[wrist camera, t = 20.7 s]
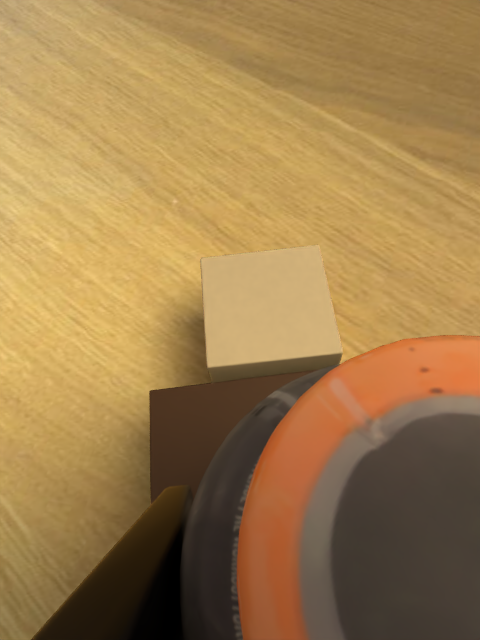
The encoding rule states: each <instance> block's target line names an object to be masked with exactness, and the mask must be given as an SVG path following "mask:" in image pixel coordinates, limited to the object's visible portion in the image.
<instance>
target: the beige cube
mask: <svg viewBox="0 0 480 640" xmlns="http://www.w3.org/2000/svg"><path fill="white" fill-rule="evenodd" d="M200 263H201V279H202V296H203V312H204V329H205V345H206V362H207V369H208V372H209V375H210V378H211V381H212V383H215V382H223V381H231V380H239V379H247V378H255V377H263V376H271V375H279V374H287V373H295V372H303V371H311V370H319V369H323V368H326V367H329V366H332V365H339V363H340V360H341V357H342V354H343V349H342V344H341V340H340V336H339V331H338V327H337V322H336V318H335V313H334V309H333V304H332V300H331V295H330V291H329V286H328V282H327V277H326V273H325V269H324V264H323V260H322V255H321V251H320V246H319V245H312V246H303V247H294V248H285V249H276V250H267V251H258V252H249V253H240V254H231V255H222V256H213V257H204V258H201V259H200Z"/></svg>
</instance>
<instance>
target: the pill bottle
mask: <svg viewBox="0 0 480 640" xmlns="http://www.w3.org/2000/svg"><path fill="white" fill-rule="evenodd" d="M180 609H181V624H182V632H183V639H184V640H480V336H464V335H441V336H431V337H422V338H412V339H403V340H400V341H396V342H394V343H391V344H387V345H383V346H380V347H378V348H375V349H373V350H371V351H368V352H366V353H364V354H361V355H359V356H356V357H354V358H352V359H349V360H347V361H345V362H344V363H342V364H339V365H332V366H329V367H326V368H323V369H320V370H317V371H314V372H312V373H309V374H307V375H304V376H302V377H300V378H298V379H295V380H293V381H291V382H289V383H287V384H285V385H284V386H282V387H280V388H279V389H277V390H276V391H274V392H273V393H272V394H270V395H269V396H268V397H266V398H265V399H263V400H262V401H260V402H259V403H258V404H257V405H256V406H255V407H254V408H253V409H252V410H251V411H250V412H249V413H247V414H246V415H245V416H244V417H243V418H242V419H241V420H240V421H239V422H238V423H237V424H236V426H235V427H234V428H233V429H232V430H231V431H230V433H229V434H228V435H227V436H226V438H225V440H224V441H223V443H222V444H221V445H220V447H219V448H218V450H217V451H216V453H215V455H214V457H213V459H212V460H211V462H210V464H209V466H208V468H207V469H206V471H205V473H204V475H203V477H202V479H201V481H200V483H199V486H198V489H197V492H196V495H195V497H194V500H193V503H192V506H191V510H190V513H189V517H188V520H187V524H186V530H185V535H184V541H183V546H182V554H181V564H180Z"/></svg>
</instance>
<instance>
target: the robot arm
mask: <svg viewBox="0 0 480 640" xmlns="http://www.w3.org/2000/svg"><path fill="white" fill-rule="evenodd" d="M193 500H194V499H193V494H192V489H191V487H190V486H189V485H178V486H170V487H167V488H166V489H165V490H164V491H163V492H162V493H161V494H160V495H159V496H158V497H157V499H156V500H155V501H154V502H153V503H152V504H151V505H150V506H149V508H148V509H147V510H146V511H145V512H144V513H143V514H142V515H141V517H140V518H139V519H138V520H137V521H136V522H135V523H134V524H133V526H132V527H131V528H130V529H129V530H128V531H127V532H126V533H125V535H124V536H123V537H122V538H121V539H120V540H119V541H118V542H117V544H116V545H115V546H114V547H113V548H112V549H111V550H110V551H109V553H108V554H107V555H106V556H105V557H104V558H103V559H102V560H101V562H100V563H99V564H98V565H97V566H96V567H95V568H94V569H93V571H92V572H91V573H90V574H89V575H88V576H87V577H86V578H85V580H84V581H83V582H82V583H81V584H80V585H79V586H78V587H77V589H76V590H75V591H74V592H73V593H72V594H71V595H70V596H69V597H68V599H67V600H66V601H65V602H64V603H63V604H62V605H61V606H60V608H59V609H58V610H57V611H56V612H55V613H54V614H53V615H52V617H51V618H50V619H49V620H48V621H47V622H46V623H45V624H44V626H43V627H42V628H41V629H40V630H39V631H38V632H37V633H36V635H35V636H34V637H33V638H32V639H31V640H184V639H183V632H182V624H181V609H180V564H181V554H182V546H183V541H184V535H185V530H186V524H187V520H188V517H189V513H190V510H191V506H192V503H193Z"/></svg>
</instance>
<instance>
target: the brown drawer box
mask: <svg viewBox="0 0 480 640" xmlns="http://www.w3.org/2000/svg"><path fill="white" fill-rule="evenodd" d="M319 370H320V369H319ZM314 371H317V370H311V371H303V372H295V373H287V374H279V375H271V376H263V377H255V378H247V379H239V380H231V381H223V382H215V383H207V384H199V385H191V386H183V387H175V388H167V389H159V390H151V391H150V393H149V395H150V482H151V504H152V503H153V502H154V501H155V500H156V499H157V497H158V496H159V495H160V494H161V493H162V492H163V491H164V490H165V489H166V488H167V487H170V486H178V485H189V486H190V487H191V489H192V494H193V499H194V497H195V495H196V492H197V489H198V486H199V483H200V481H201V479H202V477H203V475H204V473H205V471H206V469H207V468H208V466H209V464H210V462H211V460H212V459H213V457H214V455H215V453H216V451H217V450H218V448H219V447H220V445H221V444H222V443H223V441H224V440H225V438H226V436H227V435H228V434H229V433H230V431H231V430H232V429H233V428H234V427H235V426H236V424H237V423H238V422H239V421H240V420H241V419H242V418H243V417H244V416H245V415H246V414H247V413H249V412H250V411H251V410H252V409H253V408H254V407H255V406H256V405H257V404H258V403H259V402H260V401H262V400H263V399H265V398H266V397H268V396H269V395H270V394H272V393H273V392H274V391H276V390H277V389H279V388H280V387H282V386H284V385H285V384H287V383H289V382H291V381H293V380H295V379H298V378H300V377H302V376H304V375H307V374H309V373H312V372H314Z"/></svg>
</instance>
